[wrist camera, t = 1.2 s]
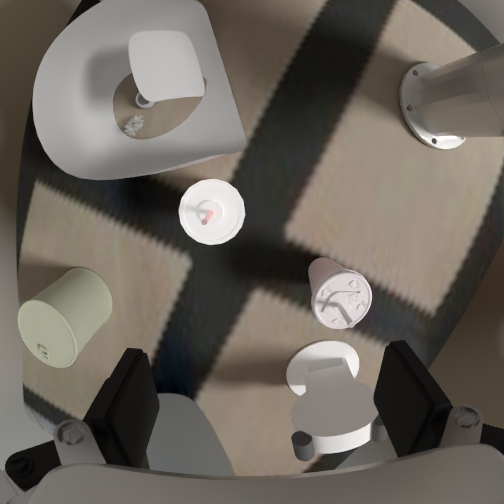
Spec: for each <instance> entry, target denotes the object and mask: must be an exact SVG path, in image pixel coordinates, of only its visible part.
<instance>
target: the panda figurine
mask: <svg viewBox="0 0 504 504" xmlns="http://www.w3.org/2000/svg"><path fill="white" fill-rule="evenodd" d="M358 369H359V358H358V355H357V353H356V352H355V350H354V349H353V348H352V347H351V346H350V345H348V344H347V343H345V342H342V341H338V340H322V341H318V342H315V343H312V344H310V345H308V346H306V347H304V348H303V349H301V350H300V351H299V352H298V353H296V354H295V356H294V357H293V358H292V359H291V361H290V363H289V365H288V367H287V372H286V377H287V382H288V385H289V387H290V388H291V389H292V390H293V391H294V392H295V393H296V394H298V395H300V397H299V398H298V399H297V400H296V402H295V403H294V405H293V407H292V409H291V417H292V422H293V426H294V431H295V433H294V434H293V435H292V437H291V439H292V443H293V448H294V452H295V456H296V457H297V459H299V460H301V461H309V460H311V459H312V458H313V457H314V455H315V454H314V451H315V452H318V453H337V452H343V451H347V450H350V449H353V448H356V447H358V446H361V445H363V444H364V443H366V442H368V441H369V440H370V439H371V438H372V437H373V440H374V441H375V442H382V441H384V440H385V439H386V438H387V431H386V428H385V426H384V424H383V422H382V419H381V417H380V415H378V411H377V408H376V406H375V404H374V400H373V396H374V391H373V390H372V389H371V388H370V387H368V386H367V385H365V384H362V383H358V382H356V381H355V379H354V378H355V377H356V375H357V372H358Z"/></svg>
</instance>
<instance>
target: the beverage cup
mask: <svg viewBox="0 0 504 504" xmlns="http://www.w3.org/2000/svg"><path fill="white" fill-rule="evenodd" d="M179 216H180V222H181V224H182V226H183V228H184V229H185V231H186V233H187V234H188V235H189V236H191V237H192V238H193V239H195V240H196V241H197V242H201V243H204V244H208V245H213V244H221V243H224V242H226V241H228V240H229V239H231V238H233V237H234V236H235V235H236V233H237V232H238V231H239V230H240V228H241V227H242V224H243V220H244V217H245V210H244V202H243V200H242V198H241V196H240V194H239V193H238V191H237V190H236V189H235V188H234V187H232V186H231V185H230V184H229V183H227V182H224V181H221V180H217V179H209V180H202V181H199V182H198V183H196V184H194V185H193V186H191V187H189V189H188V190H187V191H186V193H185V194H184V195H183V197H182V199H181V203H180V207H179Z"/></svg>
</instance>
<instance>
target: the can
mask: <svg viewBox="0 0 504 504" xmlns="http://www.w3.org/2000/svg"><path fill="white" fill-rule="evenodd" d="M111 312H112V297H111V293H110V291H109V289H108V287H107V285H106V284H105V282H104V281H103V280H102V279H101V277H99V276H98V275H97V274H96V273H94V272H93V271H91V270H89V269H86V268H73V269H71V270H69V271H67V272H66V273H65V274H64V275H63V276H62V277H61V278H59V279H58V280H57V281H55V282H54V283H52V284H51V285H50V286H48V287H47V288H45V289H44V290H43V291H41V292H40V293H38V294H37V295H35V296H34V297H33V298H31V299H30V300H28V301H26V302H24V303H23V304H22V305H21V307H20V309H19V312H18V327H19V331H20V334H21V336H22V339H23V340H24V342H25V344H26V345H27V347H28V348H29V350H30V351H31V352H32V353H33V354H34V355H35V356H36V357H37V358H38V359H40V360H41V361H42V362H44V363H46V364H48V365H50V366H53V367H58V368H63V367H67V366H69V365H71V364H72V363H73V362H74V361H75V359H76V357H77V356H78V354H79V353H80V351H81V350H82V349H83V348H84V346H85V345H86V344H87V342H88V341H89V340H90V339H91V337H92V336H93V335H94V334H95V332H96V331H97V330H98V329H99V328H100V326H101V325H102V324H103V323H105V322H106V321H107V320H108V318H109V317H110V315H111Z"/></svg>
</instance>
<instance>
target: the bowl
mask: <svg viewBox="0 0 504 504" xmlns="http://www.w3.org/2000/svg"><path fill="white" fill-rule="evenodd" d="M131 73H133V77H134V80H135V83H136V85H137V87H138V90H139V93H138V94H137V96H136V103H137V105H138V106H139V107H141V108H145V109H147V108H150V107H152V106H153V105H154V103H155V102H156V101H161V100H166V99H173V98H181V97H193V96H203V95H204V96H203V98H202V100H201V101H200V103H199V104H198V106H197V107H196V109H195V110H194V111H193V112H192V113H191V115H190V116H189V117H188V118H187V119H186V120H185V121H184V122H183V123H182V124H181V125H179V126H178V127H177V128H175V129H173V130H172V131H170V132H168V133H166V134H164V135H161V136H159V137H155V138H152V139H145V140H137V139H133V138H129V137H130V134H131V133H132V132H134V130H137V129H139V128H141V127H139V128H135V127H138V125H139V124H138V125H135V122H138V121H139V120H140V119H138V117H137V116H136V115H135V116H136V117H135V116H134V118H135V119H136V118H137V119H138V121H135V119H134V118H132V119H133V121H134V122H133V123H134V125H135V126H134V128H131V127H129V125H126V126H128V127H129V128H128V127H125V128H127V130H128V131H129V133H130V134H129V137H128V136H126V134H128V133H126V134H124V133H123V132H122V131H121V130H120V129H119V127H118V125H117V123H116V121H115V118H114V113H113V97H114V93H115V91H116V88H117V87H118V85H119V84H120V82H121V81H122V80H123V79H124V78H125V77H126V76H128V75H129V74H131ZM202 75H203V76H204V78H205V79H206V80H207V85H206V92H205V89H204V82H203V77H202ZM204 93H205V94H204ZM32 104H33V117H34V123H35V127H36V131H37V135H38V138H39V140H40V142H41V144H42V146H43V148H44V151H45V152H46V153H47V155H48V156H49V157H50V159H51V160H52V161H53V163H54V164H56V165H57V166H58V167H59V168H61V169H62V170H63V171H65V172H66V173H68V174H71V175H74V176H76V177H79V178H84V179H92V180H109V179H121V178H128V177H136V176H143V175H150V174H156V173H161V172H165V171H170V170H175V169H178V168H182V167H186V166H190V165H194V164H197V163H200V162H204V161H207V160H211V159H214V158H218V157H221V156H225V155H228V154H231V153H235V152H238V151H240V150H242V149H243V148H244V147H245V146H246V137H245V133H244V130H243V126H242V123H241V120H240V117H239V113H238V110H237V107H236V104H235V100H234V97H233V94H232V91H231V87H230V84H229V81H228V78H227V74H226V71H225V68H224V65H223V61H222V58H221V55H220V52H219V49H218V45H217V42H216V39H215V36H214V33H213V29H212V26H211V23H210V20H209V17H208V14H207V12H206V10H205V8H204V7H203V5H202V4H201V3H199V2H198V1H195V0H104V1H102V2H100V3H98V4H96V5H95V6H93V7H92V8H90V9H89V10H87V11H86V12H84V13H83V14H81V15H80V16H79V17H78V18H77V19H75V20H74V21H73V22H72V23H71V24H69V25H68V26H67V27H66V28H65V29H64V30H63V31H62V32H61V34H60V35H59V36H58V37H57V38H56V39H55V40H54V42H53V43H52V44H51V46H50V47H49V49H48V50H47V52H46V54H45V55H44V58H43V60H42V62H41V64H40V67H39V69H38V72H37V76H36V80H35V84H34V90H33V103H32ZM142 117H143V116H142ZM139 118H141V117H140V115H139ZM137 119H136V120H137ZM140 121H143V120H140ZM140 121H139V122H140ZM127 122H128V121H127ZM130 122H131V123H130ZM130 122H128V123H129V124H130V126H132V121H131V119H130ZM143 122H144V121H143ZM140 123H141V122H140ZM136 124H137V123H136ZM142 124H143V123H142ZM142 124H140V125H139V126H142ZM132 127H133V126H132ZM132 129H133V131H132ZM127 130H125V131H126V132H128V131H127ZM125 131H124V132H125ZM137 131H138V130H137ZM132 135H133V133H132ZM134 135H135V132H134Z"/></svg>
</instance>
